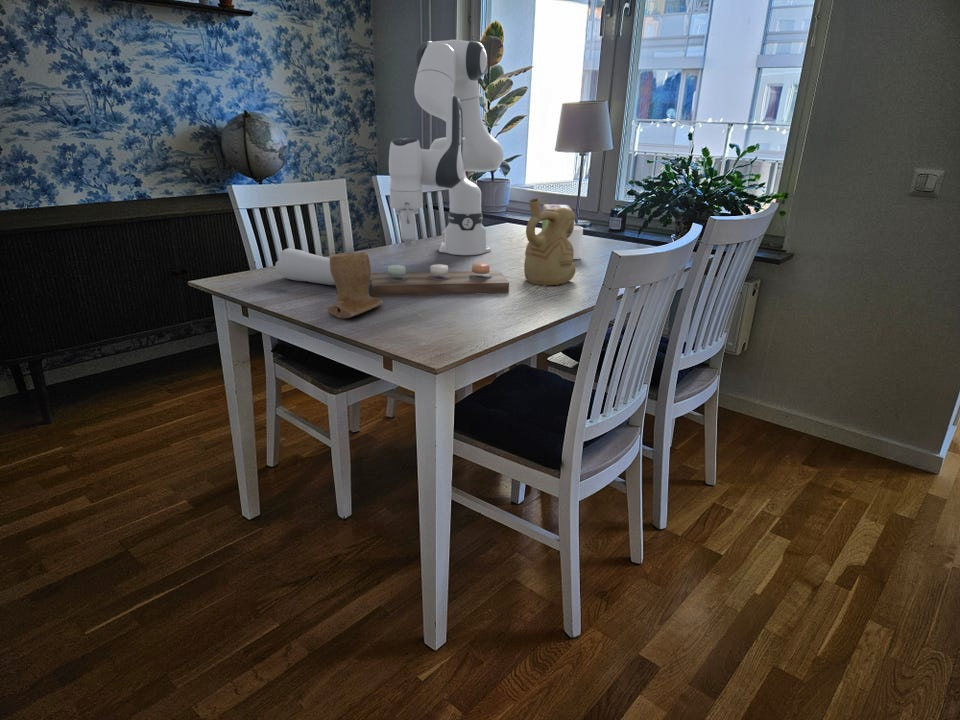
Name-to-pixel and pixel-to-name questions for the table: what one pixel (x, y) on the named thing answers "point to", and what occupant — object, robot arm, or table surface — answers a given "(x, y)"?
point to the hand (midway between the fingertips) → (407, 251)
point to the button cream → (439, 269)
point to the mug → (576, 241)
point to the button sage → (396, 270)
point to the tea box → (552, 208)
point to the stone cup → (351, 284)
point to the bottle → (305, 267)
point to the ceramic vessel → (549, 246)
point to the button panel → (438, 283)
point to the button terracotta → (480, 268)
